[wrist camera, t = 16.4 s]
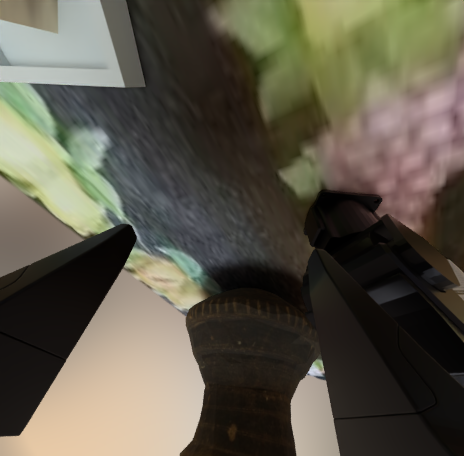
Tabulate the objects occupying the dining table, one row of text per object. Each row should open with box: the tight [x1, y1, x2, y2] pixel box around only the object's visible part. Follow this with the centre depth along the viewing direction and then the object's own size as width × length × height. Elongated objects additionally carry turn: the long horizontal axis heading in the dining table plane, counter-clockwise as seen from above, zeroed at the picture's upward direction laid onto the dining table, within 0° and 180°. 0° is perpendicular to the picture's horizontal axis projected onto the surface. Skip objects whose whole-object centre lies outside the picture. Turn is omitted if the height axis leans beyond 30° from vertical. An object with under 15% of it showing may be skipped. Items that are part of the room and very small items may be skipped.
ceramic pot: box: [180, 288, 321, 456], centre depth 28 cm, size 24×24×22 cm
